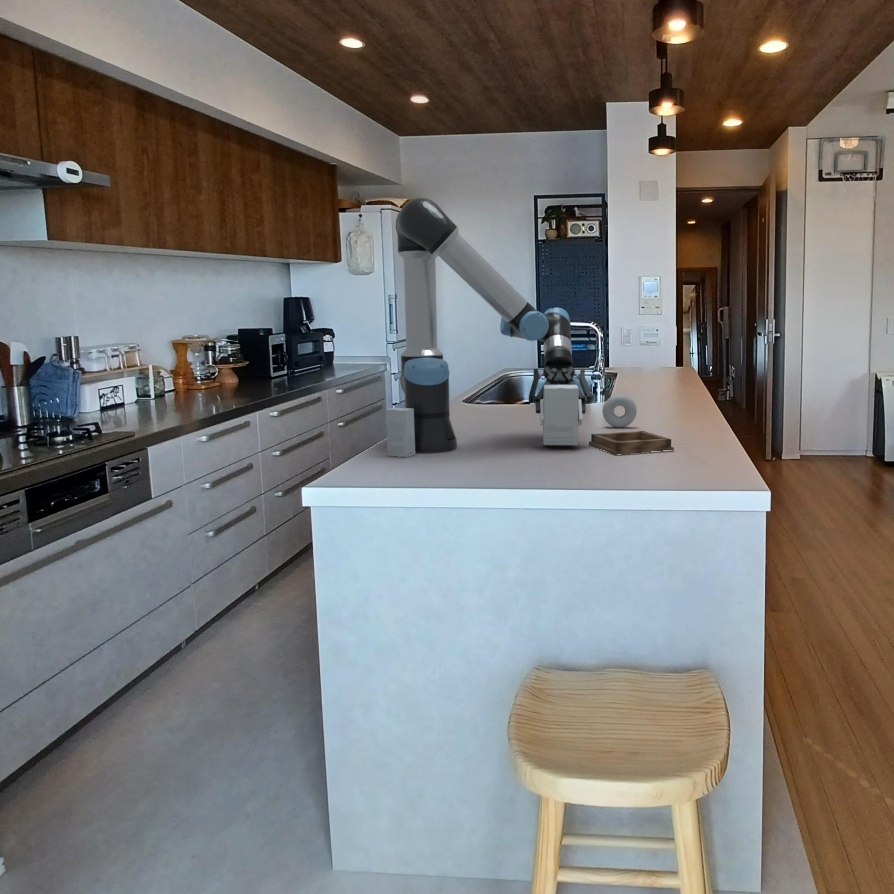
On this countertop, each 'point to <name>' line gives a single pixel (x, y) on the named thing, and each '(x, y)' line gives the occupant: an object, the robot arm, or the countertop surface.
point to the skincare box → (400, 432)
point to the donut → (614, 402)
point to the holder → (630, 442)
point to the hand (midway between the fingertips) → (561, 422)
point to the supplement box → (560, 414)
